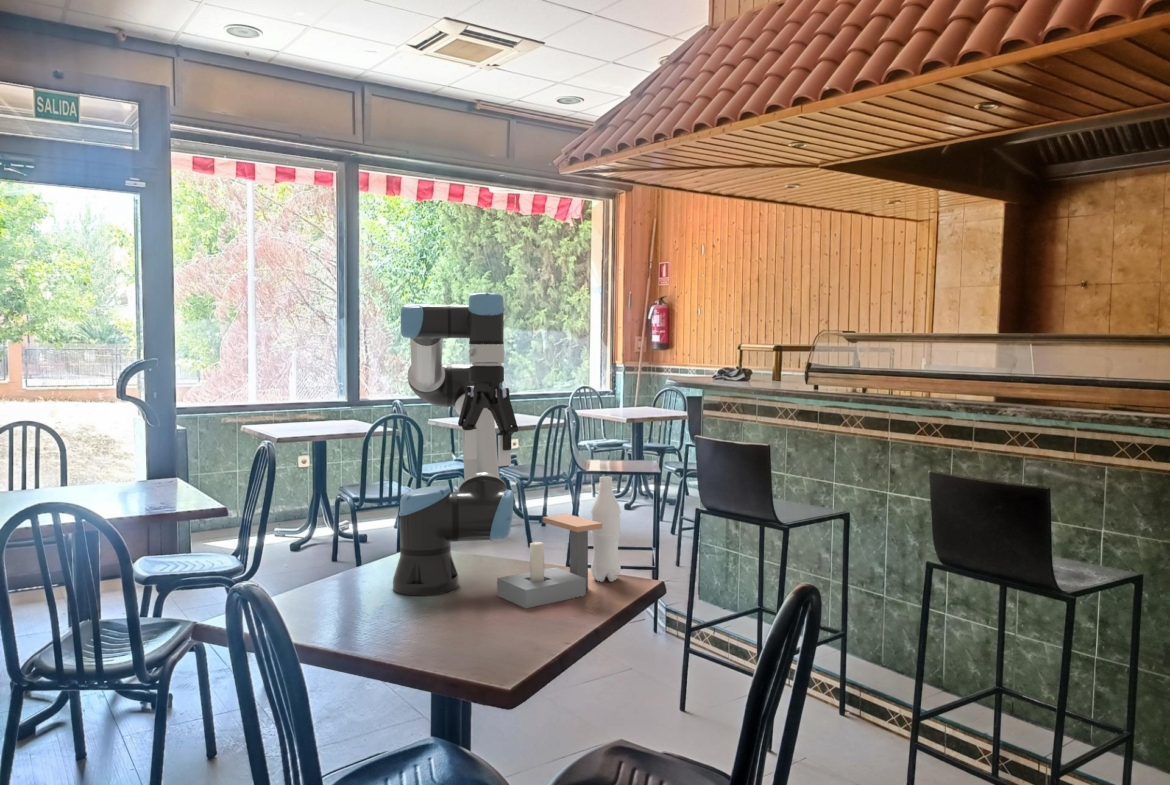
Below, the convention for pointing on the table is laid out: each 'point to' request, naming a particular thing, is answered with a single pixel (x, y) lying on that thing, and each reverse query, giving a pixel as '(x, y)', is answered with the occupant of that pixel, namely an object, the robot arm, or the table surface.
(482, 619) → the table surface
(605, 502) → the water bottle
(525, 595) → the socket block
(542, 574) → the peg
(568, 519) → the wooden topped pedestal
